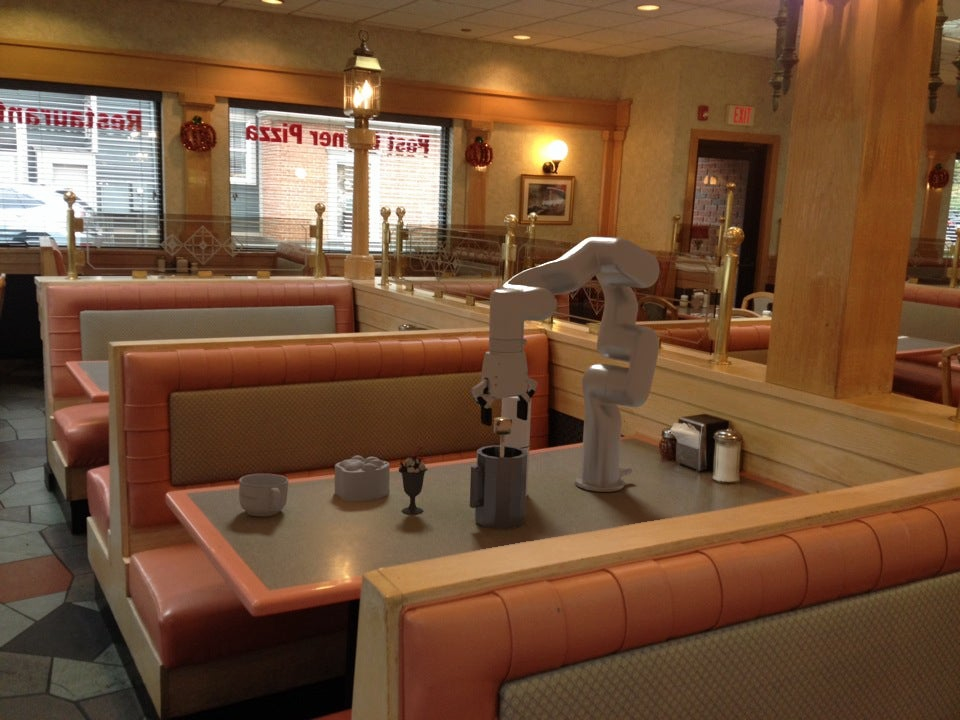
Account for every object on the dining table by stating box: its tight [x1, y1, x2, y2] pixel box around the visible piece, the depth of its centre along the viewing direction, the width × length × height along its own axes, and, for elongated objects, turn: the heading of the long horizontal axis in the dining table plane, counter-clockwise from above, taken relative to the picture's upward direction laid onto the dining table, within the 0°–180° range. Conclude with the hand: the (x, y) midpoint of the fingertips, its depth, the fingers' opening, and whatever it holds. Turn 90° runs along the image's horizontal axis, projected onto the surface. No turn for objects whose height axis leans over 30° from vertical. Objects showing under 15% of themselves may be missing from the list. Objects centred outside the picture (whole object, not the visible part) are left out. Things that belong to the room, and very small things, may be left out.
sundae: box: [398, 446, 428, 515], centre depth 200 cm, size 7×7×15 cm
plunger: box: [493, 416, 512, 458], centre depth 195 cm, size 8×8×21 cm
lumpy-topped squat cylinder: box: [334, 454, 391, 503], centre depth 212 cm, size 10×13×9 cm
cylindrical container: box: [500, 396, 532, 497], centre depth 214 cm, size 7×7×25 cm
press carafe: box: [469, 444, 527, 530], centre depth 195 cm, size 13×11×16 cm
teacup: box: [238, 473, 290, 517], centre depth 195 cm, size 14×11×8 cm
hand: (504, 421), depth 193 cm, fingers open, 9 cm apart
